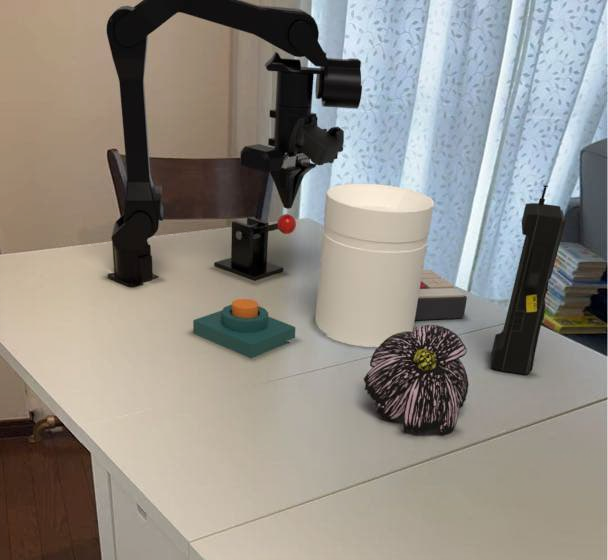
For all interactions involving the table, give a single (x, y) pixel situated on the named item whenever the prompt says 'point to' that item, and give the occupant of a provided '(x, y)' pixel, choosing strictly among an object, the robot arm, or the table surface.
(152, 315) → the table surface
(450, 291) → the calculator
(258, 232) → the switch lever
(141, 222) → the robot arm
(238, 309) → the button
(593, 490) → the table surface
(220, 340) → the button block
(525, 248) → the portable radio
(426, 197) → the canister
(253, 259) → the switch bracket
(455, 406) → the decorative flower
